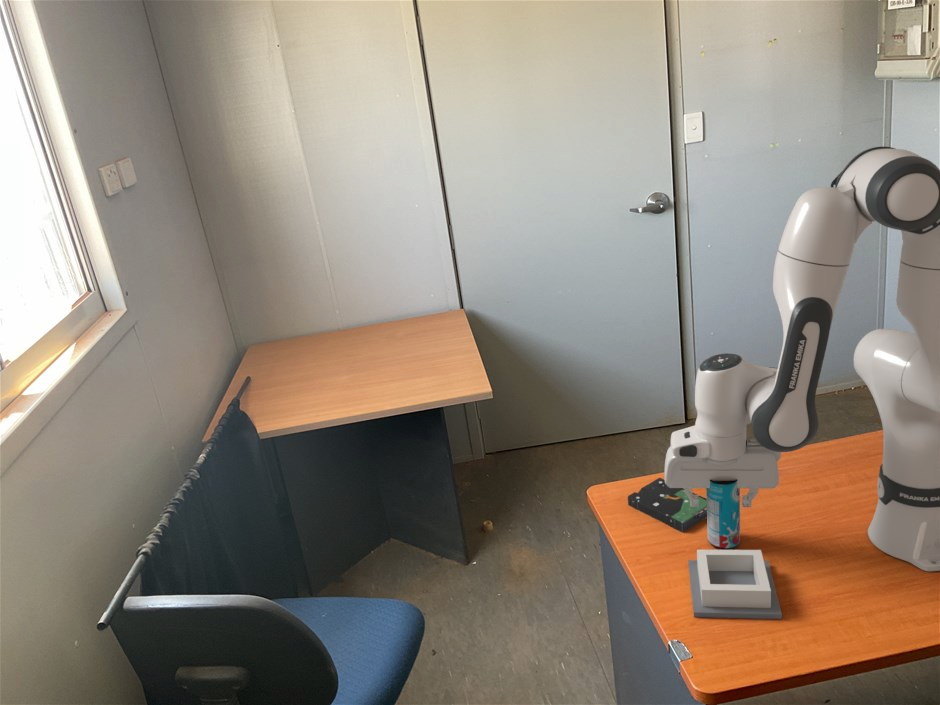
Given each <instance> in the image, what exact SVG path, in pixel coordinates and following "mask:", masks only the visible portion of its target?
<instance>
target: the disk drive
mask: <svg viewBox="0 0 940 705" xmlns="http://www.w3.org/2000/svg"><path fill="white" fill-rule="evenodd" d="M692 493H693V495H698V507H690V499H689V498H688V496H687V495H686V494H685V492H684V488H669V487H668V486H667V485H666V484H665V478H661V477H658V478H656V479H655V480H653V481H652V482H649V483H648V484H646V485H644V486H642V487H641V488H640V490H639V491H638V492H636V491H635V492H633V493H631V494H629V495H627V505H628V506H630V507H632V508H633V509H634V510H636V511H640V512H641V513H643V514H645V515H647V516H649V517H651V518H653V519H655V520H657V521H658V522H661V523H663V524H665V525H667V526H669V527H670V528H672V529H674V530H677V531H678V532H680V533H685V532H687V531H688V530H690V529H692V527H695V526H696V525H697V524H699V523H700V522H701V521H703V520H705V519H707V497H704V496H701V495H699V494H697V493H695V492H692Z"/></svg>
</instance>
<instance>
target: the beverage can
mask: <svg viewBox="0 0 940 705" xmlns="http://www.w3.org/2000/svg"><path fill="white" fill-rule="evenodd" d="M710 482H711V483H710V488H705V491H706V494H705V496H706V499H707V517H706V519H707V521H706V522H707V523H706V524H707V526H706V527H707V528H706V529H707V541H708V543H709V544H710V545H711V546H712V547H714V549H716V550H734V549H735V548H737V546H739V544H740V541H741V507H740V506H741V500H740V498H741V495H740V494H741V493H740V492H741V488H738V487H737V479H736V480H735V481H712V480H710Z"/></svg>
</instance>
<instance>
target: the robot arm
mask: <svg viewBox="0 0 940 705" xmlns="http://www.w3.org/2000/svg"><path fill="white" fill-rule="evenodd" d="M834 185H835V186H834ZM873 222H877V224H880V225H881V226H884V227H886V228H888V229H892V230H897V231H901V237H902V239H901V240H902V245H901V252H900V259H899V270H898V278H897V279H898V280H897V290H896V299H895V300H896V305H897V308H898V310H899V312H900V314H901V315H902V316H903V317H904V319H905V320H906V321H907V322H908V323H909V324H910V326H911V327H912V329H913V331H914V333H913V332H910V331H907V330H900V329H899V330H898V329H890V328H877V329H874V330H872V331H869V332H868V333H866V334H865V335H864V336H863V337H862V338H861V339H860V341H859V342H858V344H857V345H856V347H855V349H854V353H853V367H854V370H855V372H856V374H857V375H858V376H859V377H860V378H861V379H862V381H863V382H864V383H865V385H866V386H867V388H868V390H869V392H870V393H871V396H872V398H873V400H874V402H875V405H876V407H877V410H878V414H879V417H880V421H881V425H882V431H883V432H882V433H883V435H882V436H883V445H882V446H883V449H882V450H883V451H882V452H883V454H882V463H881V465H880V466H879V473H878V477H877V487H876V488H877V491H876V492H877V496H878V500H877V504H876V508H875V511H874V515H873V516H872V517H873V518H872V520H871V521H870V524H869V526H868V528H867V535H868V538H869V540H870V542H871V543H872V544H873V545H874V546H875V547H876V548H878V549H879V550H880V551H882V552H883V553H885V554H887V555H889V556H891V557H894V558H897V559H899V560H902V561H904V562H908V563H910V564H911V565H912V566H913V565H914V566H915V567H917V568H919V569H920V570H922V571H926V572H939V571H940V168H939V167H938V166H937V165H936V164H935V163H934V162H932V161H930V160H929V159H928V158H924V157H922V156H920V155H918V154H917V153H915V152H914V151H913V152H912V151H910V150H907V149H901V148H896V147H895V148H894V147H890V146H873V147H871V148H868V149H865V150H863V151H861V152H859V153H858V154H857V155H855V156H853V158H852V159H850V161H849V162H848V163H847V164H846V166H845V167H844V168H843V170H842V171H841V172H839V174H838V175H836V177H835V178H834V179H833V180H832V181H831V183H830V186H818V187H814V188H811V189H808V190H806V191H805V192H803V193H802V194H801V195H800V196H799V198H798V199H797V200H796V202H795V204H794V206H793V208H792V210H791V213H790V214H789V217H788V219H787V222H786V224H785V227H784V229H783V232H782V235H781V238H780V241H779V245H778V248H777V252H776V256H775V260H774V265H773V274H772V276H773V277H772V292H773V295H774V298H775V301H776V305H777V308H778V310H779V314H780V318H781V323H782V331H783V339H782V347H781V352H780V355H779V361H778V365H777V367H767V366H762V365H758V364H756V363H753V362H750V361H749V360H746V359H745V358H744V357H742V356H741V355H738V354H736V353H727V352H726V353H725V352H724V353H718V354H714V355H712V356H709V357H708V358H706V359H704V360H703V361H702V362H701V364H700V365H699V367H698V369H697V372H696V378H695V388H694V406H695V409H696V413H697V414H696V420H695V424H694V425H692V426H689V427H685V428H682V429H678V430H675V431H672V432H671V435H670V446H669V447H668V448H667V452H666V454H665V461H664V476H663V477H664V478H663V479H664V480H665V484H666V485H667V486H668V487H669V488H684V492H685V494H686V495H687V496H688V498H689V499H690V507H698V495H699V494H697V495H693V493H694V492H693V489H706V488H710V483H711V482H710V480H712V481H735V480H736V479H737V487H738V488H740V489H748V492H747V493H746V494H742V495H741V499H742V500H741V504H742V508H752V503H753V502H752V501H753V500H754V499H755V497H756V496H757V494H759V489H760V490H761V489H765V490H767V489H769V490H770V489H775V488H776V487H777V486H778V485H779V484H780V474H779V473H780V472H779V466H778V461H780V459H781V457H782V453H789V452H794V451H797V450H800V449H802V448H804V447H806V446H807V445H808V444H810V442H811V441H813V439H814V438H815V436H816V434H817V433H818V428H819V420H818V419H819V418H818V413H817V408H816V394H817V389H818V385H819V382H820V375H821V372H822V367H823V363H824V359H825V355H826V350H827V346H828V341H829V335H830V331H831V327H832V323H833V320H834V316H835V312H836V308H837V305H838V301H839V298H840V295H841V292H842V290H843V286H844V283H845V279H846V276H847V273H848V269H849V267H850V263H851V260H852V257H853V253H854V248H855V245H856V243H857V241H858V240H859V237H860V236H861V235H862V234H863V232H864V231H865V230H866V229H867V228H868V227H869V226H870V225H872V224H873ZM749 424H750V425H751V428H752V433H753V436H754V439H747V425H749Z"/></svg>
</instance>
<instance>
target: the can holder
mask: <svg viewBox="0 0 940 705" xmlns="http://www.w3.org/2000/svg"><path fill="white" fill-rule="evenodd" d="M687 563H688V564H687V565H688V573H689V574H688V575H689V583H690V591H691V594H690V595H691V602H692V611H693V612H692V613H693V618H714V619H715V618H719V619H720V618H721V619H722V618H723V619H757V620H759V619H763V620H782V619H783V613H782V610H781V606H780V602H779V601H780V600H779V597H778V594H777V590H776V589H777V588H776V585H775V581H774V578H773V575H772V570H771V566H770V562H769V560H764V557H763V552H762V549H729V550H721V549H696V559H694V560H693V559H688V561H687Z"/></svg>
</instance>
